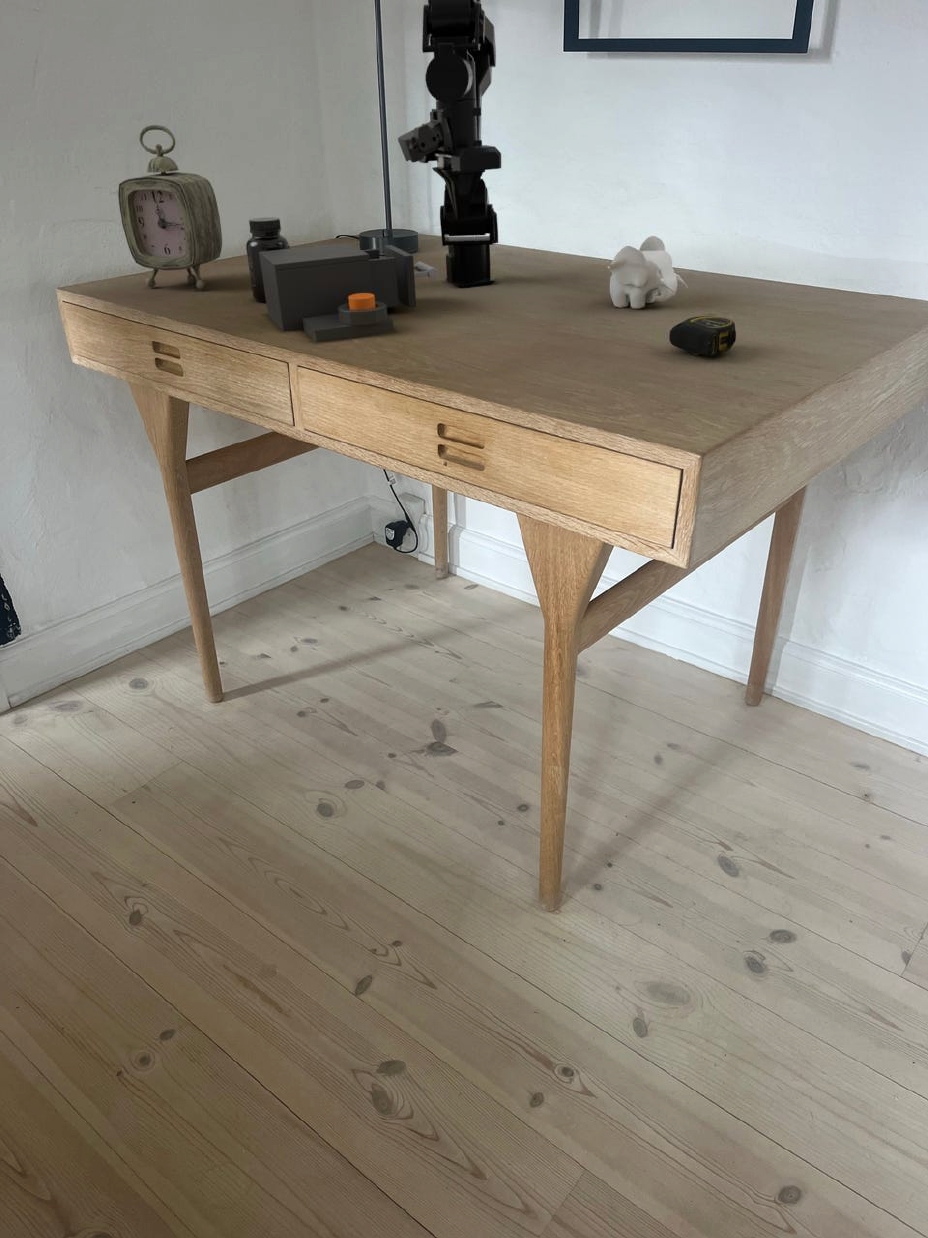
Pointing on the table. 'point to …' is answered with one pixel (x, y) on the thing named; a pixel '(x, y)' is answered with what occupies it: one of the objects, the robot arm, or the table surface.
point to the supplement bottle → (262, 249)
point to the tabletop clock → (170, 217)
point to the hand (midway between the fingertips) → (460, 218)
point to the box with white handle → (396, 276)
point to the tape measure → (704, 335)
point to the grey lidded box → (312, 281)
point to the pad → (349, 323)
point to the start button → (361, 301)
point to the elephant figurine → (642, 275)
